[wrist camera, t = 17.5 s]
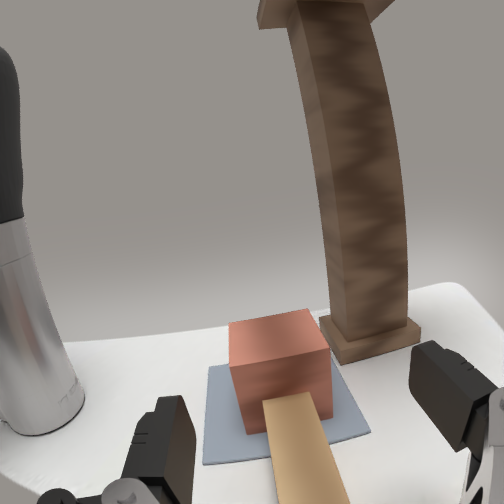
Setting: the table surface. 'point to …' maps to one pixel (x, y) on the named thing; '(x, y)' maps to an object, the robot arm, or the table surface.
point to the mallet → (288, 401)
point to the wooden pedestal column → (352, 171)
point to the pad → (257, 445)
